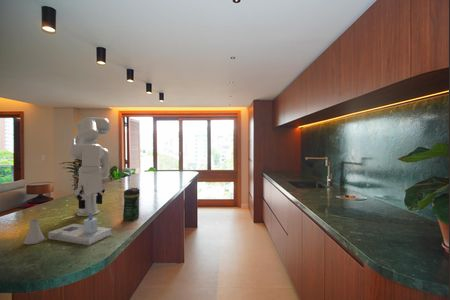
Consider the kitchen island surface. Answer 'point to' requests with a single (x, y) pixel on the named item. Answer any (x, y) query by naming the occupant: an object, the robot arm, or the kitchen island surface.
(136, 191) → the coffee jar
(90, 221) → the plug
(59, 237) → the panel
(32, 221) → the flask
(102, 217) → the kitchen island surface
